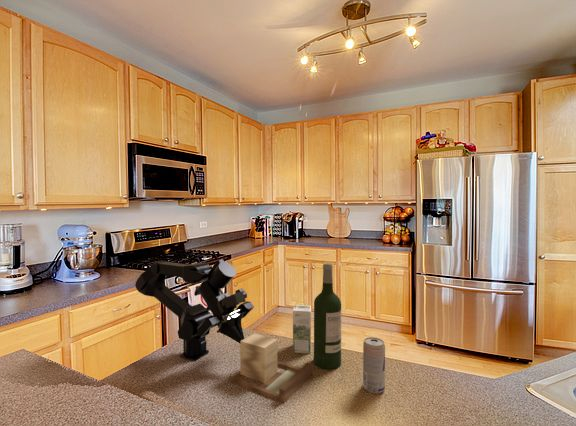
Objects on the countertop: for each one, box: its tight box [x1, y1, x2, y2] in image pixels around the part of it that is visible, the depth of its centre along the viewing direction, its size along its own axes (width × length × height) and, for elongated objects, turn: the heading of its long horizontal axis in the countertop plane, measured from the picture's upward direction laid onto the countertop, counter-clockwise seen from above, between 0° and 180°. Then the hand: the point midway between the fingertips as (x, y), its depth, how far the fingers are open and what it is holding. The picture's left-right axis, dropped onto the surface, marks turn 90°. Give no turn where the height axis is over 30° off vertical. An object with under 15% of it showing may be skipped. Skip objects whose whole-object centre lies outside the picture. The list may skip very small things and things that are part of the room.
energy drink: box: [362, 336, 386, 394], centre depth 77 cm, size 5×5×12 cm
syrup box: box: [292, 304, 312, 354], centre depth 96 cm, size 6×6×14 cm
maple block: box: [239, 332, 278, 383], centre depth 81 cm, size 8×6×9 cm
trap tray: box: [226, 360, 313, 404], centre depth 79 cm, size 18×14×4 cm
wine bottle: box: [313, 262, 342, 371], centre depth 87 cm, size 8×8×30 cm
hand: (243, 343), depth 84 cm, fingers closed
